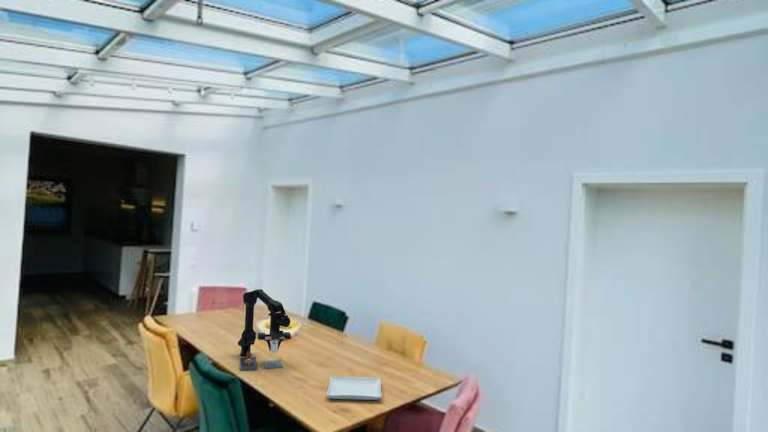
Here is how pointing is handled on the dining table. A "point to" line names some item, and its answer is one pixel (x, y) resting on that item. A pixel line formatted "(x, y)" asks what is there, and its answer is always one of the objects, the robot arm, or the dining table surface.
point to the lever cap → (273, 347)
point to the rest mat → (273, 364)
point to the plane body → (248, 363)
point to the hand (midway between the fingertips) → (273, 350)
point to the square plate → (354, 388)
